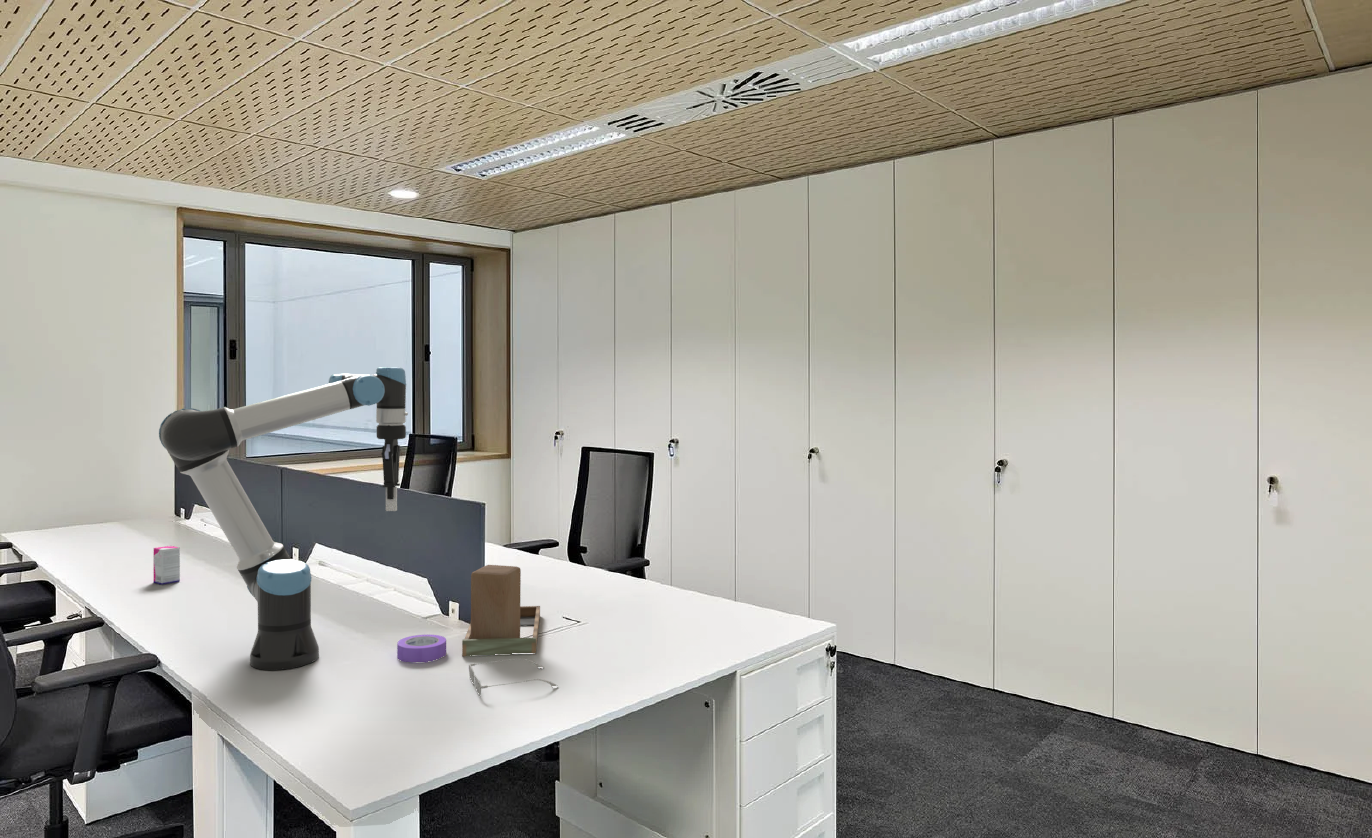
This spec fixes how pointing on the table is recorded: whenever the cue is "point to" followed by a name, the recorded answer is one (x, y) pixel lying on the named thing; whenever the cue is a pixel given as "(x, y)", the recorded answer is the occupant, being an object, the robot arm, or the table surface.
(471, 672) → the eyeglasses
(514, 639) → the wooden tray
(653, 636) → the table surface
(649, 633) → the table surface
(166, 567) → the supplement box
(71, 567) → the table surface
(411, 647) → the masking tape
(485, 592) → the block
